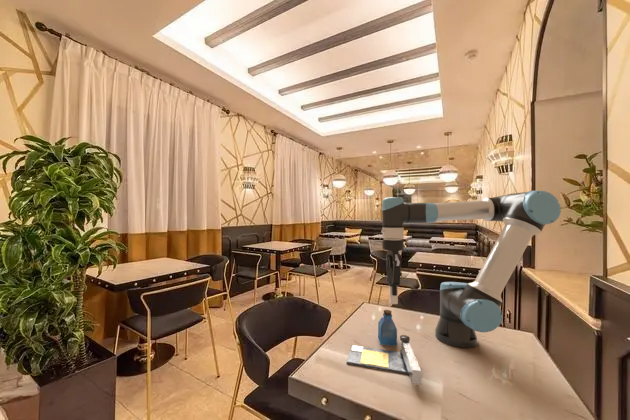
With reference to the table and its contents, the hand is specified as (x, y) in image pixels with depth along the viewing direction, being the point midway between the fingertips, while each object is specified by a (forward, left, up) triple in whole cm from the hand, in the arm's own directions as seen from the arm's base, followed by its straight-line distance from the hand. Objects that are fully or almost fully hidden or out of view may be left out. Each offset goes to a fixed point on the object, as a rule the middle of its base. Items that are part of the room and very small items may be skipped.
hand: (393, 303), depth 96 cm
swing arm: (-5, +11, -16) cm, 20 cm away
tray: (+4, +7, -18) cm, 20 cm away
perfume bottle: (+2, -8, -18) cm, 20 cm away
